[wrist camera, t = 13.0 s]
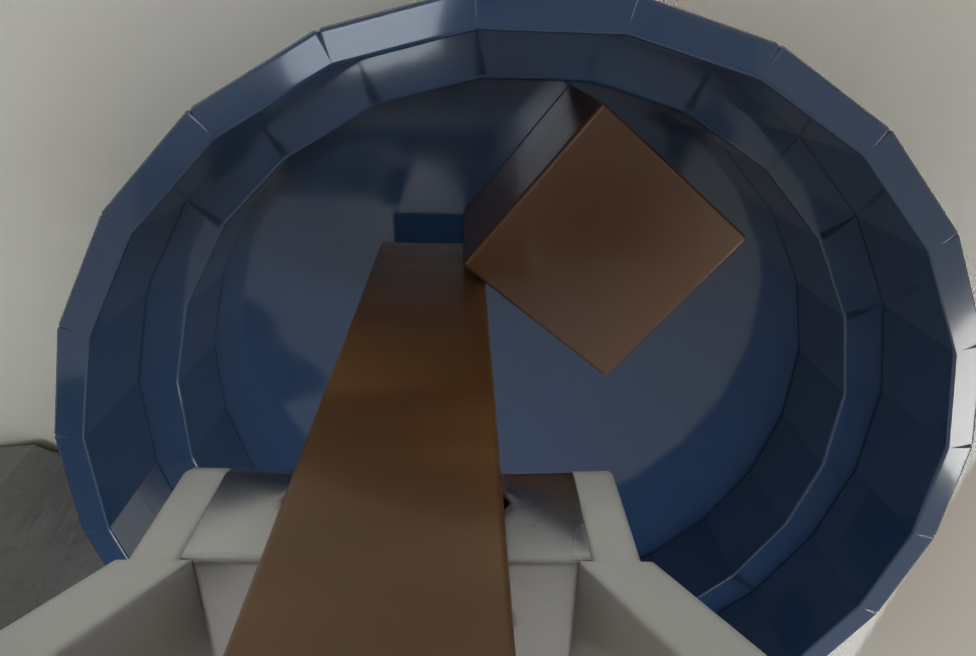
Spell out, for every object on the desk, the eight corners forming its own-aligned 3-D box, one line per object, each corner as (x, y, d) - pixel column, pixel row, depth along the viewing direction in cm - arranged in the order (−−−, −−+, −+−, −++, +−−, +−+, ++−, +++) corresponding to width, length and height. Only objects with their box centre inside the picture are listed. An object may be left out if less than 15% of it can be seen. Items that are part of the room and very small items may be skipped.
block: (686, 192, 16) (749, 239, 13) (577, 306, 18) (606, 378, 14) (570, 83, 15) (603, 100, 12) (462, 213, 16) (461, 265, 13)
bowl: (933, 14, 15) (1155, 11, 10) (763, 606, 24) (842, 763, 19) (100, -15, 15) (-88, -33, 10) (221, 605, 23) (152, 768, 18)
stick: (482, 243, 16) (564, 1203, 3) (480, 334, 17) (530, 1348, 4) (381, 241, 15) (-5, 1224, 3) (385, 333, 16) (113, 1368, 4)
